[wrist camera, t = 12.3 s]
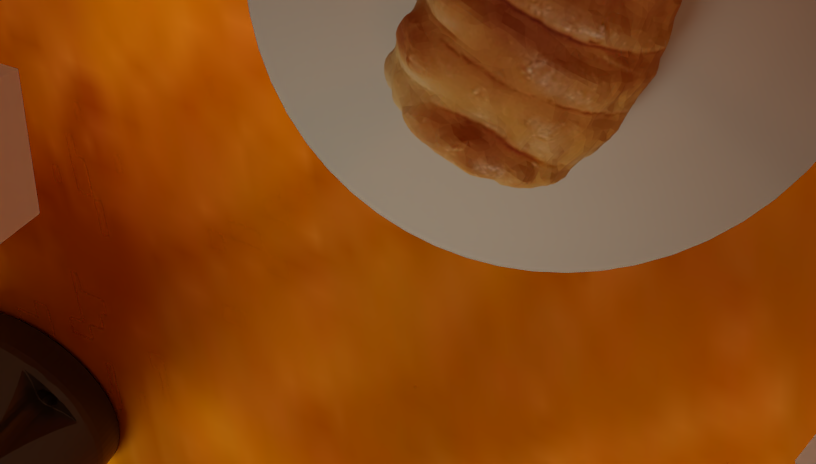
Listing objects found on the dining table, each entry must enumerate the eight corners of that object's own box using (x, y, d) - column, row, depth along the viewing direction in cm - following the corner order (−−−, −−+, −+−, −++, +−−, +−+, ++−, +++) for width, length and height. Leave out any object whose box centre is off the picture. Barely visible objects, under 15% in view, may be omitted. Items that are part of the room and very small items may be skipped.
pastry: (538, -251, 17) (513, -247, 14) (781, -107, 18) (807, -73, 15) (384, 72, 23) (343, 123, 20) (569, 177, 23) (556, 244, 20)
